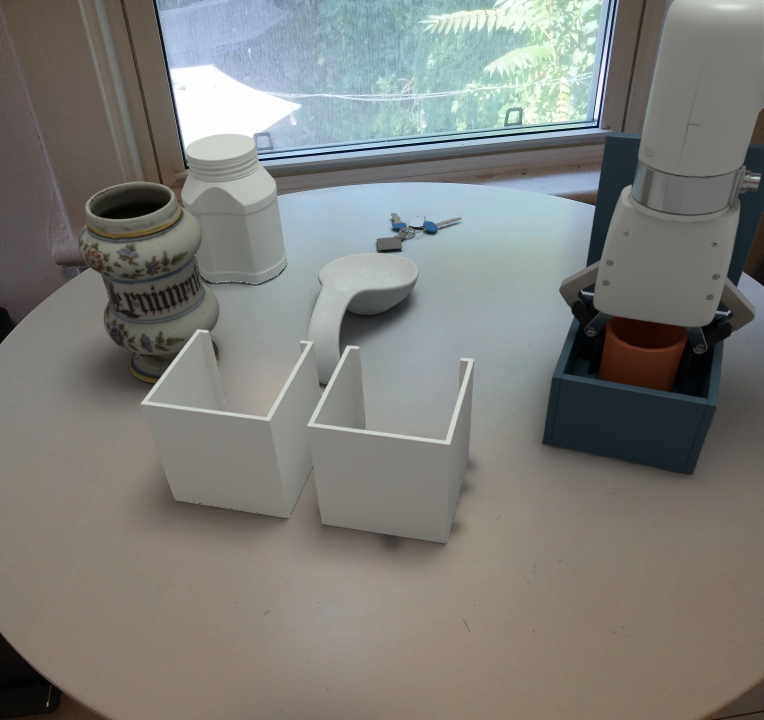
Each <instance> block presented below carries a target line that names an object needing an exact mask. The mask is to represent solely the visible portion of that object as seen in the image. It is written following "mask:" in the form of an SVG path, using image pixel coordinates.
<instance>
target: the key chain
mask: <svg viewBox="0 0 764 720" xmlns="http://www.w3.org/2000/svg"><path fill="white" fill-rule="evenodd" d="M390 216H391V218H392V220H393V221H394V222H393V223H391V227H392V228H393V229H396V230H399V231H398V234H396V235H394V236H391V237H378V238H376V245H377V250H378V251H386V250H388V251H389V250H400V249H403V243H402V241H403V240H404V239H406V238H407V237H406V236H411V237H413V236H415V235H416V234H418V233H419V234H420V233H422V232H424V231H427V232H431V233H435V232H437V231H438V230H439V227H441V226H444V225H448V224H449V225H450V224H452V223H454V222H458V221H460V220H463V219H462V217H461V216H460V217H455V218H451V219H450V218H449V219H447V220H442V221H440V222H437V223H435V222H433V221H431V220H427V221H426V220H425V222H424V223H423V226H420V227H423V229H422V230H418V231H416V230H415V228H411V227H412V226H411V227H407V226H408V224H407V223H406V222H403V221H402V220H401V217H400V216H399V214H398V213H396V212H391V213H390ZM404 230H406V231H404ZM407 230H408V231H407ZM409 230H411V231H409ZM412 231H413V232H412ZM405 232H407V233H405ZM408 233H409V234H408ZM414 234H415V235H414ZM412 235H413V236H412ZM405 237H406V238H405ZM403 238H404V239H403Z"/></svg>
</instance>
